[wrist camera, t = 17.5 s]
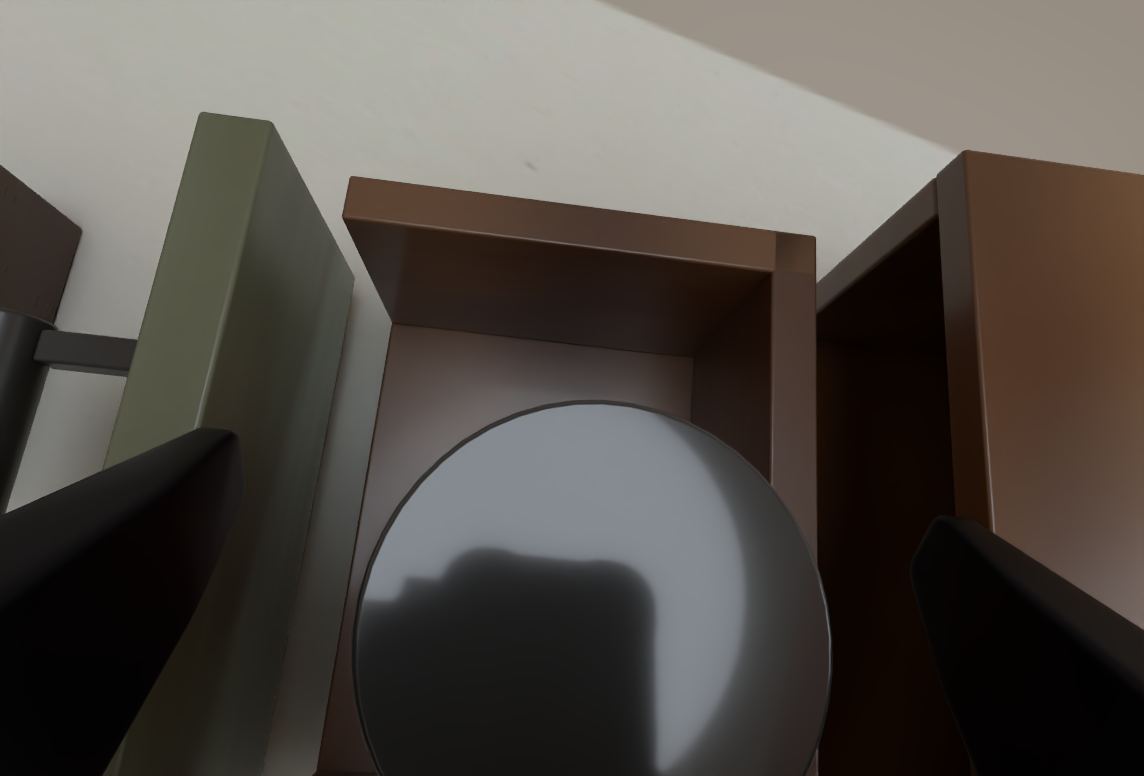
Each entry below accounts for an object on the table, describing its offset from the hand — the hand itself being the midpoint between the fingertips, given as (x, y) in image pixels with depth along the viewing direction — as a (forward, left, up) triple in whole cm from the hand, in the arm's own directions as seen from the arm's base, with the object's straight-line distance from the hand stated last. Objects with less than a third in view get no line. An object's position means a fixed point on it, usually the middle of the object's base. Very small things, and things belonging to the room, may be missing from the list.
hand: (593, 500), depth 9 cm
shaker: (-1, 0, -6) cm, 7 cm away
